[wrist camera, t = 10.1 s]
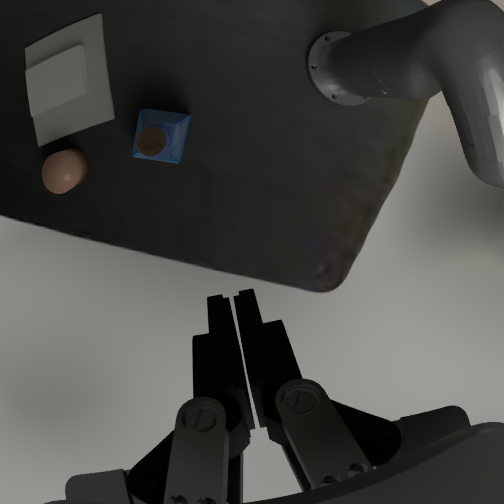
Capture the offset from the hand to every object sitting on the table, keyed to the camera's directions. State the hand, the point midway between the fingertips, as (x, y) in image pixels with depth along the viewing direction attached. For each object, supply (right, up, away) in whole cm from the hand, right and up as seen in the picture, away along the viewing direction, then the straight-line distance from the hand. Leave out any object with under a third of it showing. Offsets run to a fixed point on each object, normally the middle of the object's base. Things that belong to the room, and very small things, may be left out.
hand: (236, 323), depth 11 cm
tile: (-23, +28, +19) cm, 41 cm away
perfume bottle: (-12, +20, +28) cm, 36 cm away
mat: (-27, +28, +20) cm, 44 cm away
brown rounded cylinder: (-27, +16, +27) cm, 42 cm away
